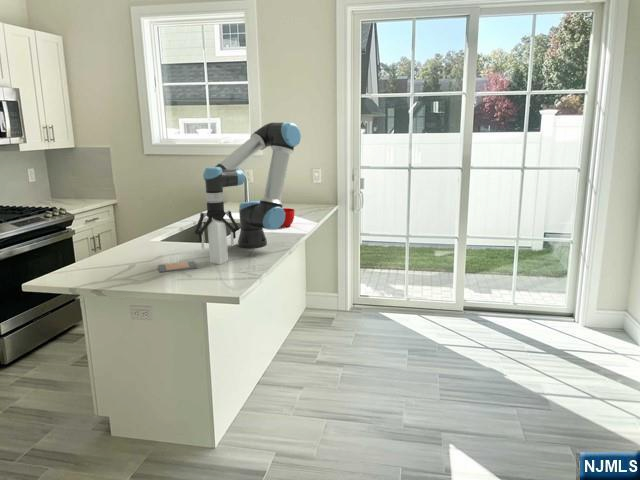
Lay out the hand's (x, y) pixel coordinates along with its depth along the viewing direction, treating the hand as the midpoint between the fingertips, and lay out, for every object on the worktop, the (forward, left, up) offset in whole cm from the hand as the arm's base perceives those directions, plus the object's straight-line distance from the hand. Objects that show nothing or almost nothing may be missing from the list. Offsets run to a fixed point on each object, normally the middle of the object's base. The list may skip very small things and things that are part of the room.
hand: (217, 246), depth 234 cm
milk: (0, 0, -8) cm, 8 cm away
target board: (+19, +1, -7) cm, 20 cm away
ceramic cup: (-52, -66, -8) cm, 85 cm away
